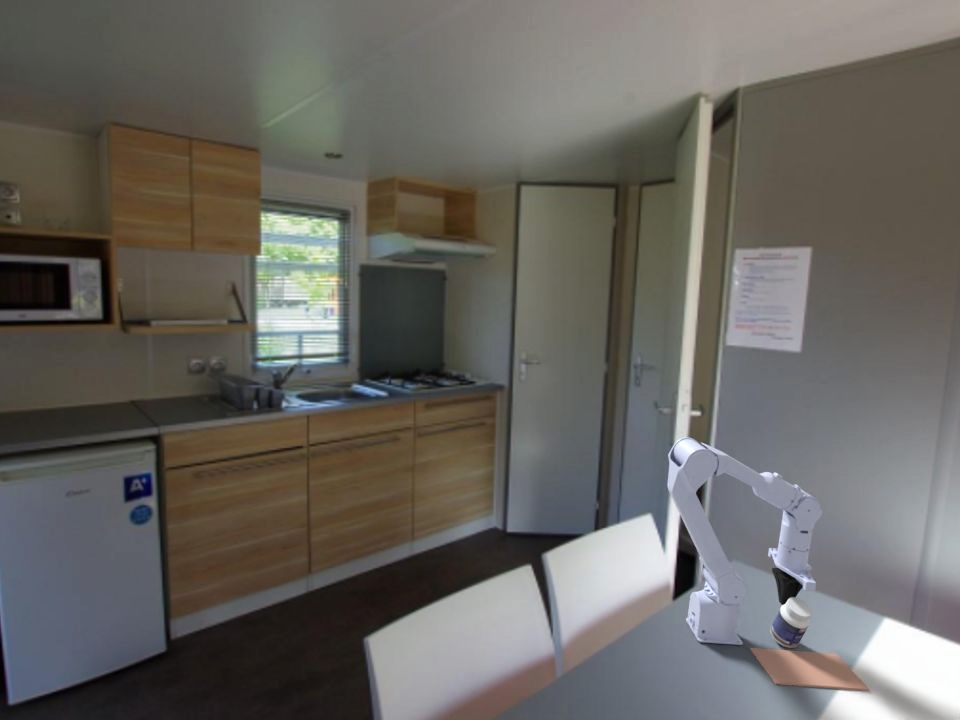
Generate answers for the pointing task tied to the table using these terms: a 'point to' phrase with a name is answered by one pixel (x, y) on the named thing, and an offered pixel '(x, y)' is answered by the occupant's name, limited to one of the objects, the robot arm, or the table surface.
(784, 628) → the pill bottle
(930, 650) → the table surface
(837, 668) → the mat
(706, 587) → the robot arm
